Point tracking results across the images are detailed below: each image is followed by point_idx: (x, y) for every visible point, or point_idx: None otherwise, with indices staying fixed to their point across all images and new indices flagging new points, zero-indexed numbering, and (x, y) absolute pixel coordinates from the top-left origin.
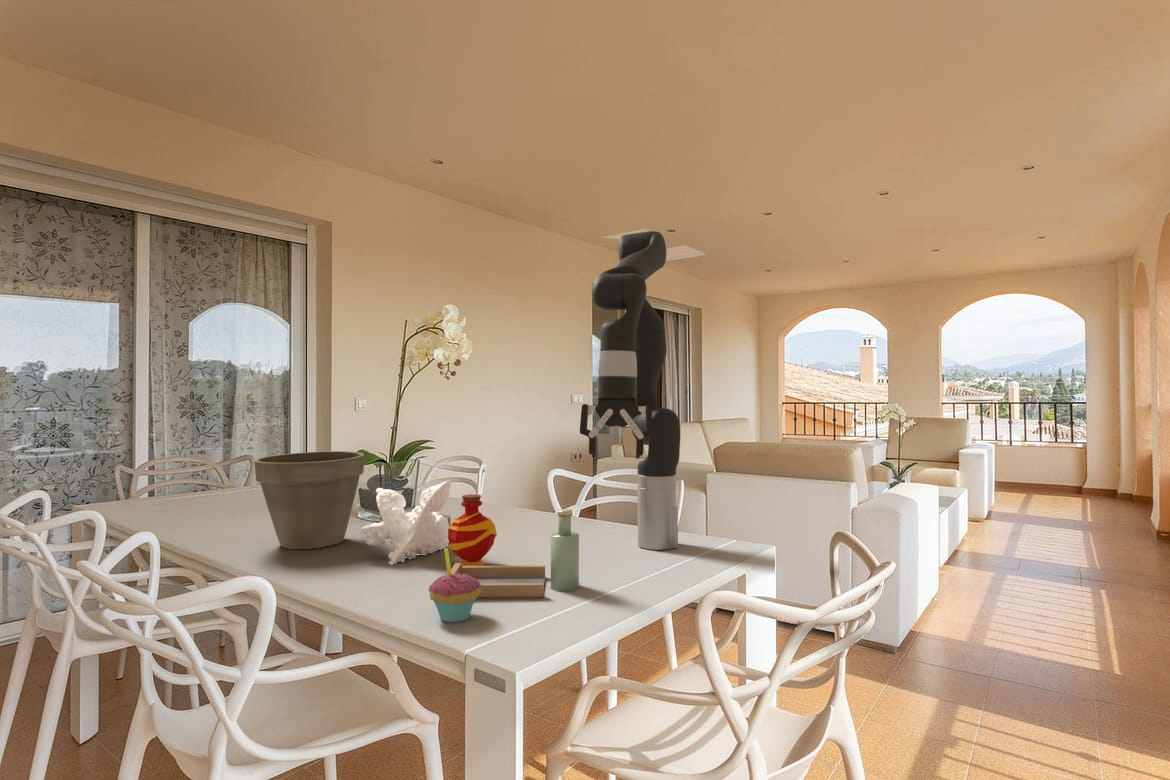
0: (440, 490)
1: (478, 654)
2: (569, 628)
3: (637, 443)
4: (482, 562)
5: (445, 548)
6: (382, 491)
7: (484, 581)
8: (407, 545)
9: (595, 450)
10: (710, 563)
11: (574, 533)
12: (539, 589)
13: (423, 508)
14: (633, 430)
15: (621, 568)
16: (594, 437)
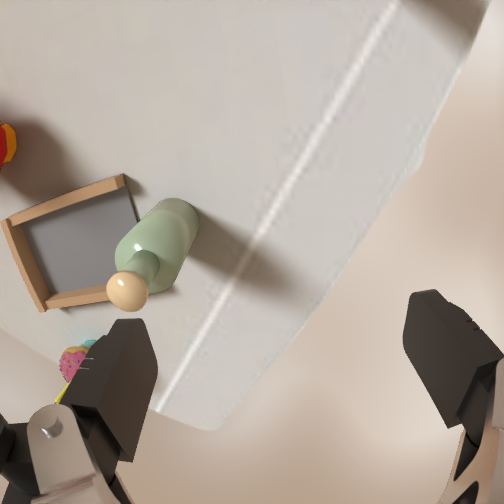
0: None
1: (170, 415)
2: (230, 369)
3: (444, 406)
4: (11, 135)
5: (56, 402)
6: None
7: (53, 232)
8: None
9: (148, 399)
10: (429, 38)
11: (163, 248)
12: None
13: None
14: (449, 491)
15: (259, 78)
16: (112, 458)
